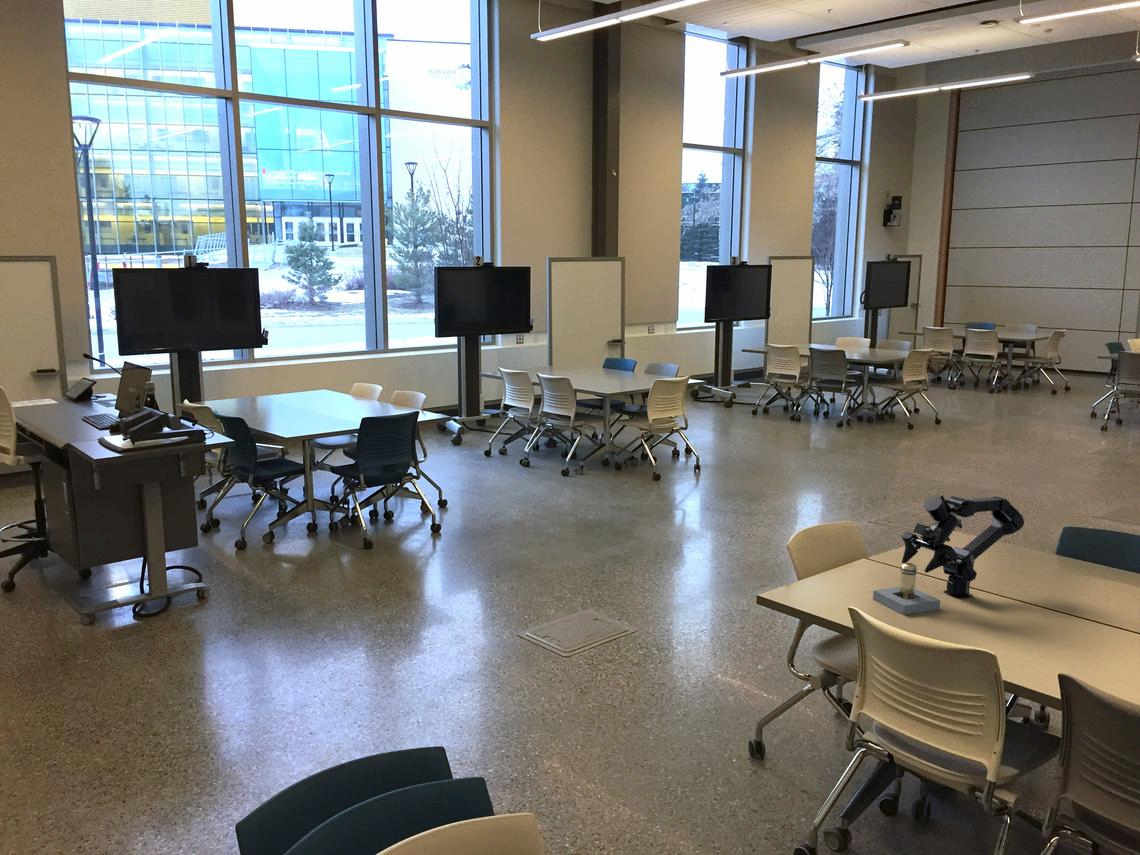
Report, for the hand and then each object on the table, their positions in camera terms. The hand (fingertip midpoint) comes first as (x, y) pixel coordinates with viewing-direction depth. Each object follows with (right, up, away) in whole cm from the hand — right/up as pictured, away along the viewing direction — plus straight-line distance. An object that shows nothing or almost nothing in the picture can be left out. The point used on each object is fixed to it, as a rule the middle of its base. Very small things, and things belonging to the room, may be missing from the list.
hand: (913, 567), depth 278 cm
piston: (-2, -12, +1) cm, 12 cm away
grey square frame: (-2, -12, +1) cm, 12 cm away
